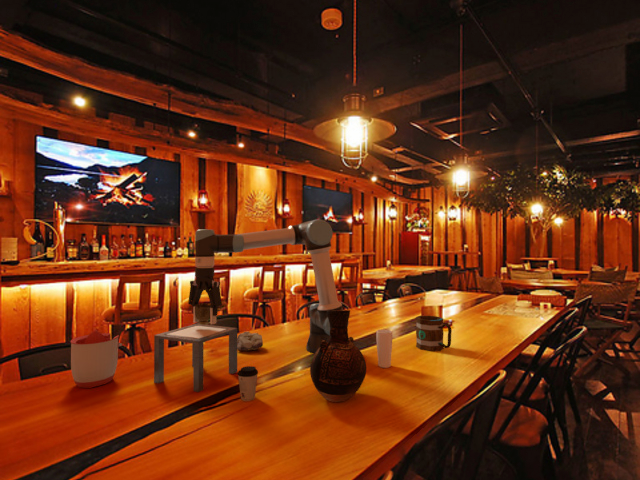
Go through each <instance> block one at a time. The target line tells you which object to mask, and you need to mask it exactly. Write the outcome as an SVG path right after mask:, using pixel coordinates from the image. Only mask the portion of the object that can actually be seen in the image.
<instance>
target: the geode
mask: <svg viewBox="0 0 640 480" xmlns="http://www.w3.org/2000/svg"><path fill="white" fill-rule="evenodd" d="M263 342H264V341H263V335H261V334H259V333H258V332H253V333H251V332H250V331H244V332H243V333H239V334H237V351H242V352H243V351H245V352H247V351H252V350H254V351H256V350H257V349H260V348H262V347H263V345H264V343H263Z"/></svg>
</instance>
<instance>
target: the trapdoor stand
mask: <svg viewBox="0 0 640 480" xmlns="http://www.w3.org/2000/svg"><path fill="white" fill-rule="evenodd" d="M194 326H204V327H213V328H222V329H227V330H224V331H221V332H218V333H215V334H212V335H209V336H206V337H203V338H200V339H193V338H186V337H178V336H171V335H166V334H169V333H172V332H176V331H179V330H183V329H187V328H190V327H194ZM227 335H228V374H231V375H232V374H233V375H234V374H237V373H238V349H237V338H238V328H237V327H231V326H221V325H214V324H212V325H211V324H206V325H200V324H199V323H193V324H190V325H188V326H187V325H186V326H183V327H180V328H176V329H172V330H169V331H165V332H162V333H157V334H154V337H153V339H154V341H153V342H154V343H153V345H154V346H153V348H154V349H153V351H154V352H153V353H154V354H153V358H154V359H153V362H154V363H153V383H154V384H158V385H159V384H162V383H164V382H165V370H164V369H165V341H166V340H168V341H174V342H181V343H182V342H183V343H187V344H188V343H189V344H192V346H191V347H192V349H191V350H192V354H191V355H192V357H191V358H192V359H191V360H192V361H191V363H192V365H191V366H192V367H193V370H192V371H193V376H192V377H193V378H192V379H193V382H192V383H193V392H196V393H200V392H202V391H204V343H205V342H208V341H212V340H215V339H218V338H220V337H223V336H227Z"/></svg>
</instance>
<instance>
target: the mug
mask: <svg viewBox="0 0 640 480" xmlns="http://www.w3.org/2000/svg"><path fill="white" fill-rule="evenodd" d="M415 323H416V328H415V334H416V335H415V337H416V342H415V343H416V345H415V347H416V348H417V349H419V350H421V351H426V352H441V351H443V350H444V349H448V348H450V347H451V344H452V332H453V331H452V327H451V325H450V324H448V323H444V318H443V317H440V316H437V315H418V316H416V317H415ZM445 327H446V328H447V330H448V331H447V344H444V328H445Z"/></svg>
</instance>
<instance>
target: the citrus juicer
mask: <svg viewBox="0 0 640 480" xmlns="http://www.w3.org/2000/svg"><path fill="white" fill-rule="evenodd" d="M111 337H112V335H111V333H110V332H108V333H105V332H103V333H102V332H100V331H99V330H97V329H94V330H93V331H92V332H91V333H90V334H86V335H81V336H77V337H74V338H72V339H71V340H70V369H71V370H70V371H71V375H72V379H73V382H74V383H75V385H76V387H78V388H87V389H91V388H95V387H98V386H102V385H105V384H107V383H110V382H111V381H112V380H113V378H114V376H115V373H116V370H117V367H118V366H117V365H118V360H119V359H118V358H119V357H118V355H119V347H122V346H123V343H121V342H119V338H120V336H119V334H118V335H116V336H114V337H113V338H111Z"/></svg>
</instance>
